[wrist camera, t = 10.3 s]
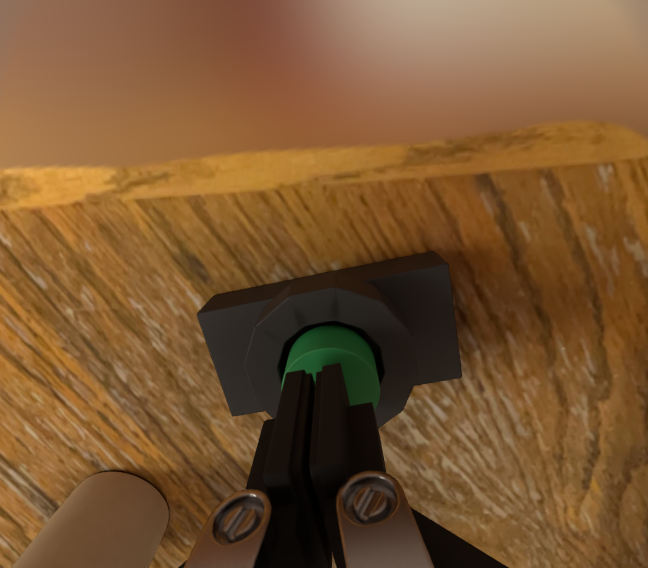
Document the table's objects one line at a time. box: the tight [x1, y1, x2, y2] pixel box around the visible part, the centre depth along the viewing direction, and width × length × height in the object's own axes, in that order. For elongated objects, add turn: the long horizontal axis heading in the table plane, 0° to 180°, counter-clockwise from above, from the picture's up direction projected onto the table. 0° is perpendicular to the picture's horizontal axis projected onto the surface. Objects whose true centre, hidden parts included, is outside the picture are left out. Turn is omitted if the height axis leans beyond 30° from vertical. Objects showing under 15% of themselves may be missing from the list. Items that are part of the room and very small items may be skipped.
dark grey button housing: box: [197, 251, 462, 428], centre depth 15 cm, size 10×6×4 cm, turn 102°
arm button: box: [281, 325, 380, 410], centre depth 13 cm, size 3×3×2 cm
